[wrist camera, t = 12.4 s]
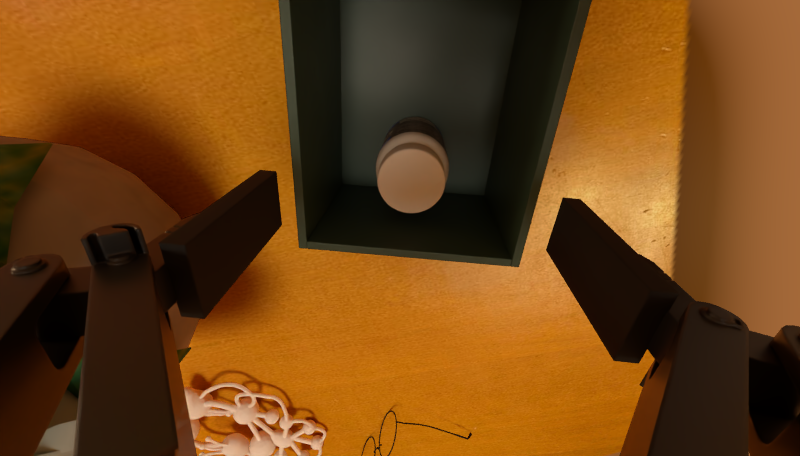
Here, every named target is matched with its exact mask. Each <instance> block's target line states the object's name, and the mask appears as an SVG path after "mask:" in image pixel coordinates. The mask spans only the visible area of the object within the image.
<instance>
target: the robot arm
mask: <svg viewBox="0 0 800 456" xmlns="http://www.w3.org/2000/svg"><path fill="white" fill-rule="evenodd" d="M281 225H282V221H281V212H280V202H279V192H278V183H277V173H276V171H265V170H259V171H258V172H256V173H255V174H254V175H252V176H251V177H249V178H248V179H247V180H245V181H244V182H242V183H241V184H240V185H238V186H237V187H235V188H234V189H233V190H231V191H230V192H229V193H227V194H226V195H224V196H223V197H222V198H220V199H219V200H217V201H216V202H215V203H213V204H212V205H210V206H209V207H208V208H206V209H205V210H203V211H202V212H201V213H199V214H194V215H192V216H189V217H187V218H184V219H182V220H181V221H179V222H178V223H177V224H175V225H174V226H173V227H171V228H169V229H168V230H166V231H165V233H162V234H161V235H159V236H158V237H156V238H155V239H153V240H152V241H151V242H149V243H148V244H146V242H145V239H144V236H143V233H142V229H141V228H140V226H139V225H136V224H133V223H117V224H110V225H106V226H102V227H99V228H96V229H93V230H91V231H89V232H88V233H86V234H84V235H83V236H82V238H81V239H80V240H81V242H82V244H83V247H84V249H85V251H86V254H87V256H88V258H89V261H90V263H91V266H87V267H75V268H67V266H66V264H65V262H64V260H63V258H62V257H61V256H60V255H57V254H38V255H29V256H25V258H23V257H21V258H18V259H16V260H14V261H13V262H11V263H8V264H6V265H4V266H3V267H1V268H0V456H34V454H35V452H36V450H37V448H38V446H39V444H40V441H41V439H42V437H43V435H44V433H45V431H46V429H47V427H48V425H49V423H50V421H51V419H52V417H53V415H54V413H55V411H56V409H57V407H58V405H59V403H60V401H61V399H62V397H63V395H64V393H65V391H66V389H67V387H68V385H69V383H70V381H71V379H72V377H73V375H74V373H75V371H76V369H77V367H78V365H79V363H80V361H81V359H82V368H81V378H80V388H79V398H78V409H77V419H76V429H75V440H74V450H73V456H197V454H196V448H195V443H194V438H193V433H192V428H191V422H190V417H189V412H188V407H187V401H186V396H185V391H184V386H183V381H182V375H181V370H180V365H179V360H178V355H177V349H176V344H175V339H174V334H173V328H172V323H171V318H170V315H169V312H168V310H169V309H170V308H171V307H172V306H173V305H174V304H175V303H176V302H177V305H178V308H179V312H180V315H181V317H191V318H200V319H205V318H206V316H207V315H208V314H209V313H210V311H211V310H212V309H213V308H214V307H215V305H216V304H217V303H218V302H219V301H220V299H221V298H222V297H223V296H224V294H225V293H226V292H227V291H228V290H229V288H230V287H231V286H232V285H233V284H234V282H235V281H236V280H237V279H238V278H239V276H240V275H241V274H242V273H243V271H244V270H245V269H246V268H247V267H248V265H249V264H250V263H251V262H252V261H253V259H254V258H255V257H256V256H257V254H258V253H259V252H260V251H261V250H262V248H263V247H264V246H265V245H266V244H267V242H268V241H269V240H270V239H271V238H272V236H273V235H274V234H275V233H276V231H277V230H278V229H279V228H280V227H281ZM546 251H547V252H548V254H549V256H550V257H551V259H552V260H553V262H554V264H555V265H556V267H557V269H558V270H559V272H560V274H561V275H562V277H563V278H564V280H565V282H566V283H567V285H568V287H569V288H570V290H571V292H572V293H573V295H574V296H575V298H576V300H577V301H578V303H579V305H580V306H581V308H582V310H583V311H584V313H585V314H586V316H587V318H588V319H589V321H590V323H591V324H592V326H593V328H594V329H595V331H596V332H597V334H598V336H599V337H600V339H601V341H602V342H603V344H604V346H605V347H606V349H607V350H608V352H609V354H610V355H611V357H612V359H613V360H614V361H620V362H630V363H639V362H640V360H641V359H642V357H643V355H644V353H645V352H646V350H647V349H648V350H649V352H650V353H651V354H652V356H653V357H654V358H655V360H654V362H653V363H652V365H651V367H650V368H649V370H648V372H647V373H646V375H645V377H644V378H643V380H642V382H641V383H640V386H642V387H643V389H642V392H641V395H640V398H639V401H638V403H637V406H636V409H635V412H634V415H633V418H632V421H631V424H630V427H629V430H628V432H627V435H626V438H625V441H624V444H623V447H622V450H621V453H620V456H749V455H748V454H749V453H750V456H800V327H798V326H787V325H786V326H784V327H783V328H781V330H780V331H779V332H778V333H777V335H776V336H775V337H771V336H767V335H763V334H760V333H756V332H752V331H749V329H748V327H747V325H746V324H745V323H744V322H743V321H742V320H741V319H740V318H739V317H737V316H736V315H734V314H733V313H731V312H729V311H727V310H725V309H723V308H721V307H719V306H716V305H713V304H710V303H705V302H699V301H697V302H696V301H695V300H694V299H693V298H692V297H691V296H690V295H689V294H688V293H686V292H685V291H684V290H683V289H682V288H681V287H680V286H679V285H678V284H677V283H676V282H675V281H672V279H671V278H670V277H669V276H668V275H667V274H666V273H664V271H663V270H661V269H660V268H659V267H658V266H657V265H656V264H655V263H654V262H652V261H650V260H649V259H647V258H645V257H644V256H642V255H640V254H637V253H636V252H635V251H634V250H633V249H632V248H631V247H630V246H629V245H628V244H627V243H626V242H625V241H624V240H623V239H622V238H621V237H620V236H618V235H617V234H616V233H615V232H614V231H613V230H612V229H611V228H610V227H609V226H608V225H607V224H606V223H605V222H604V221H603V220H602V219H601V218H600V217H598V216H597V215H596V214H595V213H594V212H593V211H592V210H591V209H590V208H589V207H588V206H587V205H586V204H585V203H584V202H583V201H582V200H581V199H572V198H563V199H562V202H561V205H560V209H559V212H558V215H557V218H556V221H555V224H554V227H553V230H552V233H551V236H550V240H549V243H548V246H547V249H546ZM748 452H749V453H748Z"/></svg>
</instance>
